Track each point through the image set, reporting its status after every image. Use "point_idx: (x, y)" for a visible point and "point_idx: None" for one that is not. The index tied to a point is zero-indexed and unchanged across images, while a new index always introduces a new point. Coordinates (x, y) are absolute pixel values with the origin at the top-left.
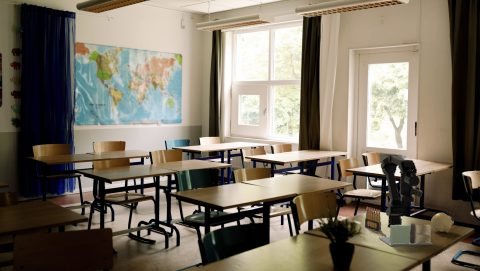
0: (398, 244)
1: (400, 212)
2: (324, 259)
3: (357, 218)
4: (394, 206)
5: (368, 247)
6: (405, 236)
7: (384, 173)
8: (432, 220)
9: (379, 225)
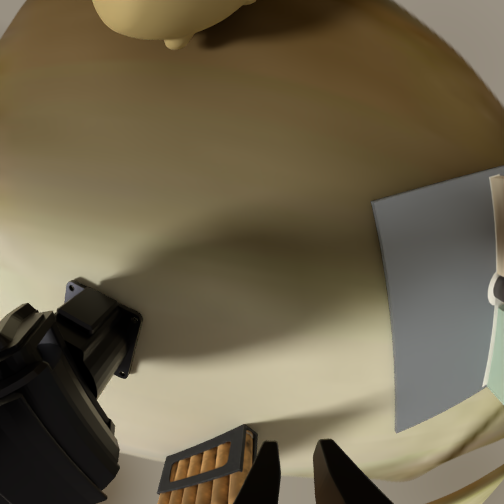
0: None
1: (76, 383)
2: (499, 468)
3: None
4: (95, 489)
5: (478, 433)
6: None
7: None
8: (173, 12)
9: (251, 458)
